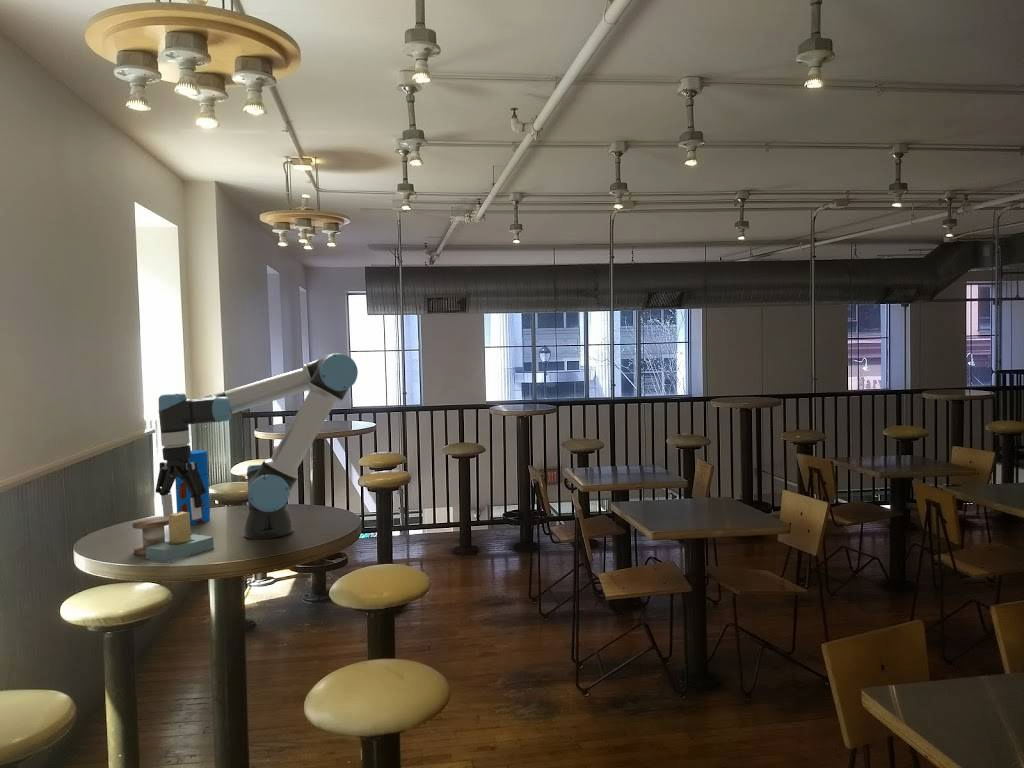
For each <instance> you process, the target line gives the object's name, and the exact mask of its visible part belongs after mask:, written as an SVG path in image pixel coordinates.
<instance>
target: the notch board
mask: <svg viewBox="0 0 1024 768" xmlns="http://www.w3.org/2000/svg"><path fill="white" fill-rule="evenodd" d="M214 544H215V543H214V536H210V535H209V536H208V535H201V534H196V533H193V534H191V542H188V543H184V544H180V545H177V546H176V545H170V540H167V541H166V540H165V542H163V543H159V544H155V545H152V546H148V547H146V556H145V559H146V560H149V559H150V560H149V561H154V562H160V563H165V562H166V563H169V562H173V561H176V560H179V559H183V558H185V557H190V556H193V555H196V554H200V553H203V552H206V551H209V550H213V549H215V548H214V547H215V545H214Z"/></svg>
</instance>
